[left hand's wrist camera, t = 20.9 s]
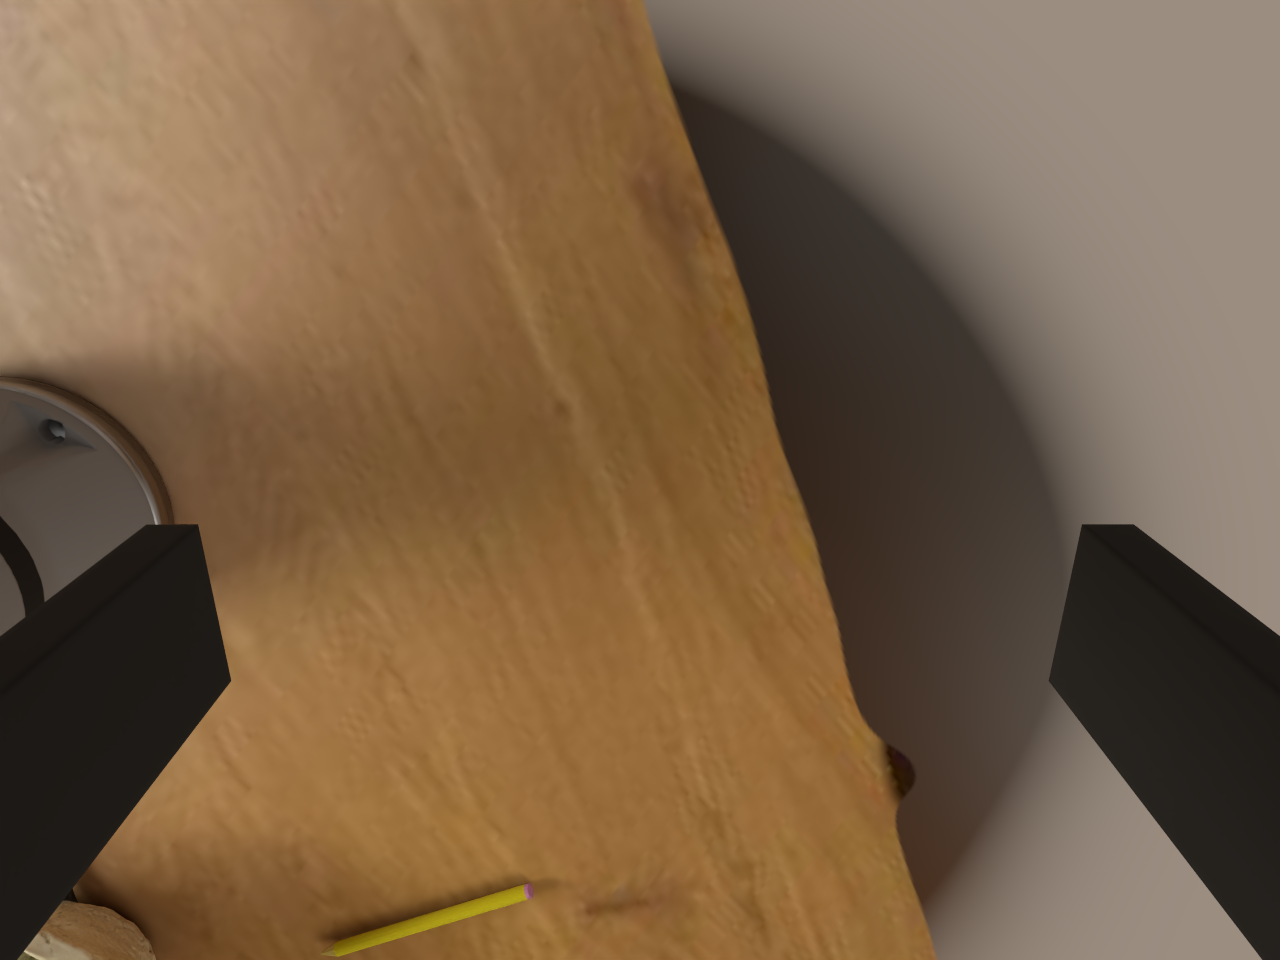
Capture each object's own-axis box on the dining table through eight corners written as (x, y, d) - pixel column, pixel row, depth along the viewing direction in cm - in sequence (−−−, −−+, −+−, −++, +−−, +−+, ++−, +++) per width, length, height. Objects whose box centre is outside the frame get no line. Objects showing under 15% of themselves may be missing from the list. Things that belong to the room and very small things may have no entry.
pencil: (528, 879, 58) (526, 891, 57) (534, 889, 58) (532, 901, 57) (318, 943, 60) (313, 956, 59) (325, 952, 61) (320, 965, 60)
